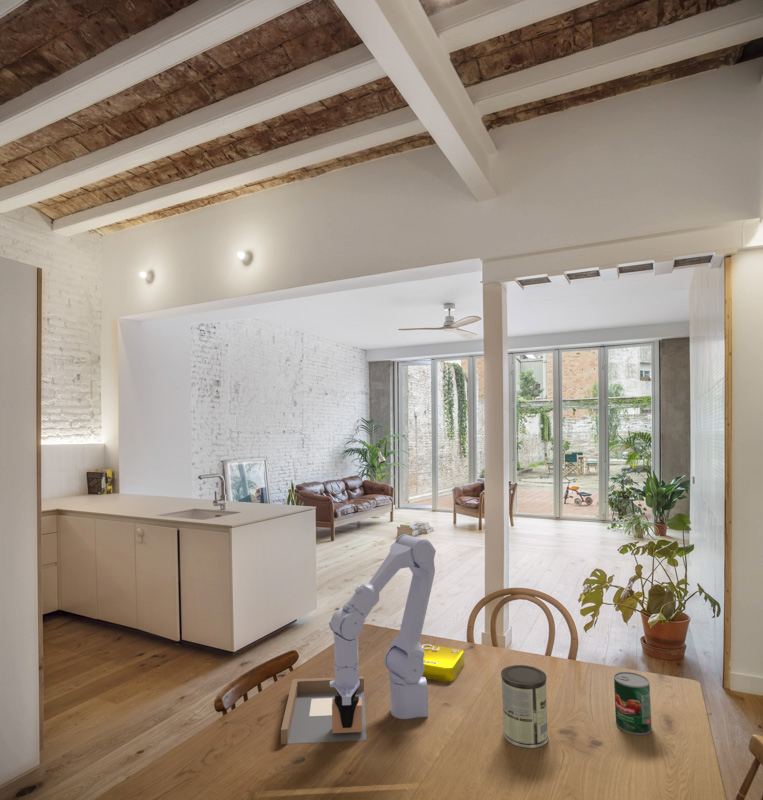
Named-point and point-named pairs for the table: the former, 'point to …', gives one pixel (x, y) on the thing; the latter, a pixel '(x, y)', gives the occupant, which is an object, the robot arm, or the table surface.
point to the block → (356, 720)
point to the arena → (315, 713)
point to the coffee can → (524, 706)
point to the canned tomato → (632, 703)
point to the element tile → (442, 662)
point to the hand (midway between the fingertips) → (347, 721)
